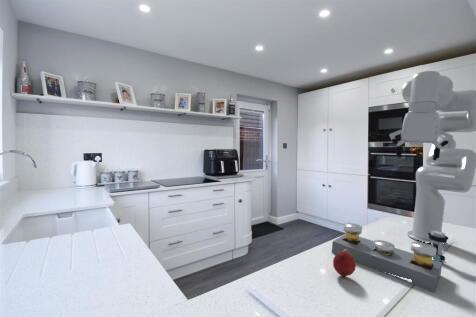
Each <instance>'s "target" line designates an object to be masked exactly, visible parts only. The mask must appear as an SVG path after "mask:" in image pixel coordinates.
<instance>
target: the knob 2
mask: <svg viewBox="0 0 476 317" xmlns="http://www.w3.org/2000/svg"><path fill="white" fill-rule="evenodd" d="M410 244H411V245H410V251H411V252H412V253H413V261H412V264H414V265H417V266H420V267H423V268H426V269H431V265H432V257H436V251H437V249H436V248H435V247H434V246H432V245H431V244H427V243H423V242H420V241H412V242H411V243H410Z"/></svg>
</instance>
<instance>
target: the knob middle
mask: <svg viewBox="0 0 476 317" xmlns="http://www.w3.org/2000/svg"><path fill="white" fill-rule="evenodd" d="M373 241H374V244H373V248H374V249H375V251H376V252H379V253H382V254H385V255H387V256H391V254H393V253H394V248H396V247H395V244H393V243H392V242H389V241H386V240H381V239H375V240H373Z"/></svg>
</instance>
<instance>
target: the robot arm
mask: <svg viewBox="0 0 476 317" xmlns="http://www.w3.org/2000/svg"><path fill="white" fill-rule="evenodd" d="M453 89H454V82H453V81H452V80H451V79H450V77H448V76H446V75H442V74H440V72H439V71H435V70H425V71H424V70H423V71H420V72H417V73H415V74H414V75H413V76H412V79H411V80H408V81H407V82H405V83H404V84H403V86H402V89H401V95H402V98H403V100H404V101H405V102H406V103H408V112H407V113H405V115H404V118H403V122H402V127H401V129H399V130H396V131H394V132H391V133H389V138H390V140H391V142H392V143H393V144H394V145H395V146H396V147H397V148H396V156H397V158H400V159H401V158H402V150H403V147H402V145H403V144H405V143H418V144H419V143H421V144H425V143H426V144H430V147H429V149H428V152H427V154H426V158H425V163H426V165H424V166H420V167H419V168H417V169H416V172H415V186H416V187H415V188H416V191H415V192H416V195H415V201H414V202H415V205H414V213H413V222H412V230H410V231H407V236H408V237H409V238H410V239H412V238H413V239H412V240H414V239H415V241H417V240H419V241H418V242H420V241H423V242H429V243H432V240H431V239H429V235H428V233H429V232H432V231H439V232H443V231H442V229H443V221H444V213H445V204H446V201H445V198H444V196H443V194H442V193H440V191H445V192H446V191H447V192H453V193H462V194H464V193H467V192H469V191H470V190H471V188H472V186H473V183H474V182H473V181H474V178H475V173H476V152H475V151H474V150H471V149H468V148H457V147H456V146H457V141H456V140H455V139H454V135H453V134H450V133H473V132H476V90H475V89H466V90H457V91H456V90H455V91H454V90H453ZM439 112H440V114H439ZM398 135H400V140H399V141H398V140H397V139H396V136H398ZM423 242H422V243H423Z"/></svg>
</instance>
